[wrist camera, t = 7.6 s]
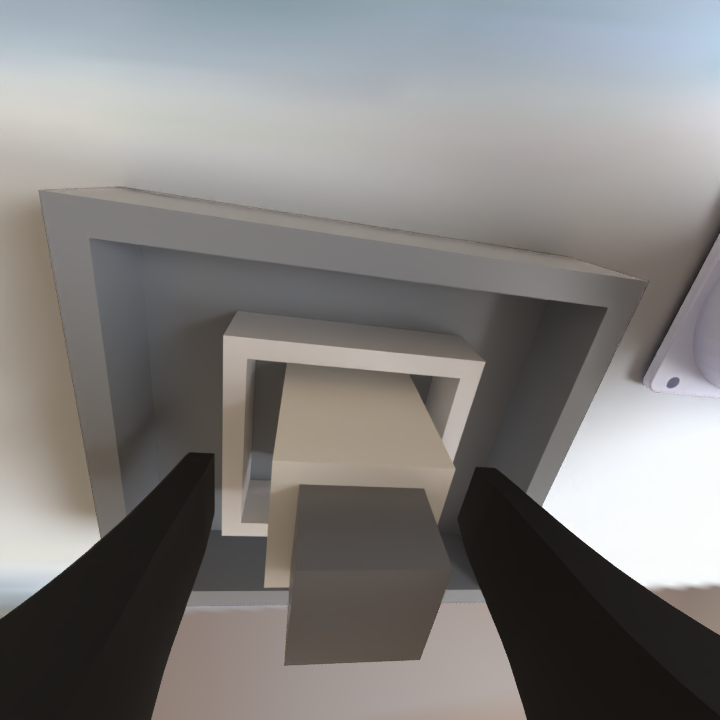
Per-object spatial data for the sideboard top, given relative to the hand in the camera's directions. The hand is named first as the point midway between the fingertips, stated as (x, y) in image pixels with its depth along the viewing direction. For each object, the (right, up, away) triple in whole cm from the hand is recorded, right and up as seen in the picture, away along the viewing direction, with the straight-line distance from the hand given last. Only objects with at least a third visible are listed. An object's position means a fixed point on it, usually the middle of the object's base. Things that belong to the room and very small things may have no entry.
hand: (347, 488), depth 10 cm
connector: (0, +2, +3) cm, 3 cm away
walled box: (-1, +2, +4) cm, 4 cm away
